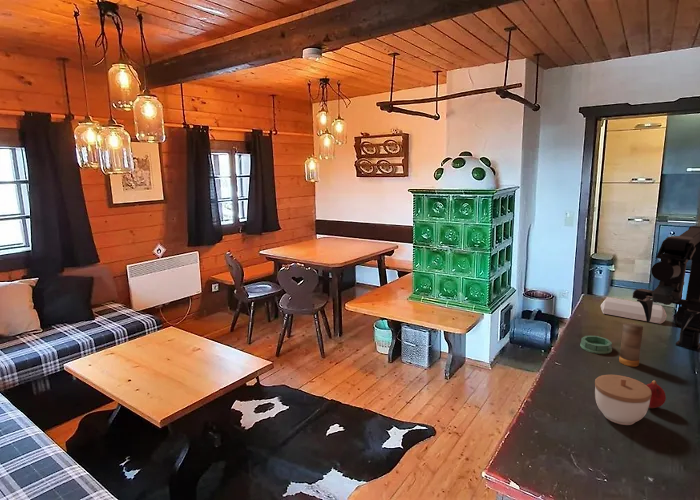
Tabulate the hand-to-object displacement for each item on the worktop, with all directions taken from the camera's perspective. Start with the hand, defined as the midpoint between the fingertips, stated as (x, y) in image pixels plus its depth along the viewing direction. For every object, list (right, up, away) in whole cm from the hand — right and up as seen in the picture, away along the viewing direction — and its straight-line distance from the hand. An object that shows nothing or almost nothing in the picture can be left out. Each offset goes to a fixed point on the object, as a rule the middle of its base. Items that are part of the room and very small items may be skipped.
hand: (664, 326), depth 140 cm
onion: (-17, -19, -19) cm, 32 cm away
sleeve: (-7, -13, +7) cm, 17 cm away
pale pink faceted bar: (+20, -5, +48) cm, 52 cm away
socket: (-11, -11, +19) cm, 25 cm away
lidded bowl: (-28, -20, -23) cm, 42 cm away
